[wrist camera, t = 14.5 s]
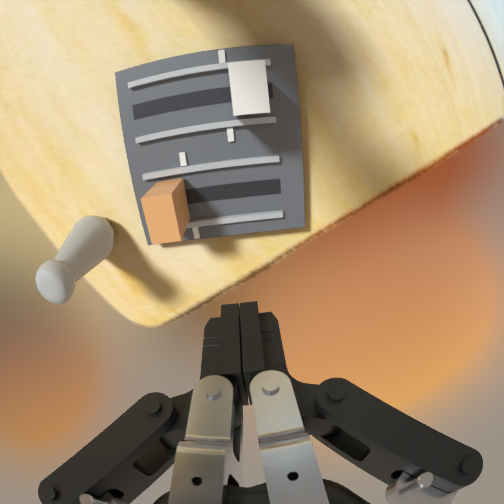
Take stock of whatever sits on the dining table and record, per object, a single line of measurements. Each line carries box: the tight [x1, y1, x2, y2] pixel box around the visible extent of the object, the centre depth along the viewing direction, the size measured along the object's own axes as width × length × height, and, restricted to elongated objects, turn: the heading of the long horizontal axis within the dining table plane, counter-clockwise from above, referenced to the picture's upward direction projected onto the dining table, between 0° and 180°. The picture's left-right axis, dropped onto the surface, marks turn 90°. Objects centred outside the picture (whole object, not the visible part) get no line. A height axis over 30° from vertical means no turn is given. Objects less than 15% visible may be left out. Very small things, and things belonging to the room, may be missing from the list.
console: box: [115, 45, 305, 245], centre depth 26 cm, size 20×18×3 cm
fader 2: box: [228, 60, 270, 116], centre depth 21 cm, size 4×3×6 cm, turn 5°
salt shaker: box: [35, 216, 114, 304], centre depth 26 cm, size 6×6×13 cm
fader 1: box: [141, 178, 190, 245], centre depth 25 cm, size 4×3×6 cm, turn 5°
